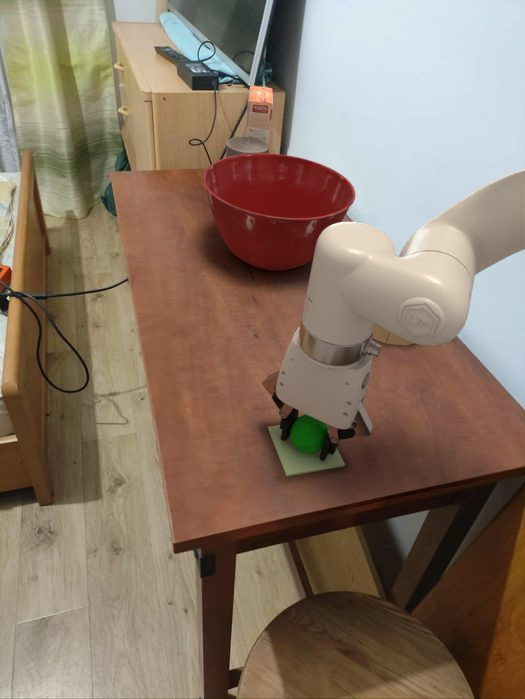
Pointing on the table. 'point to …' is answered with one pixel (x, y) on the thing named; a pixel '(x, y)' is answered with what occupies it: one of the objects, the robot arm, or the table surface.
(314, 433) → the polyhedron
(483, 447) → the table surface
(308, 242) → the mixing bowl
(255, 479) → the table surface
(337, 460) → the mat
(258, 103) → the cracker box
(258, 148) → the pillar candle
